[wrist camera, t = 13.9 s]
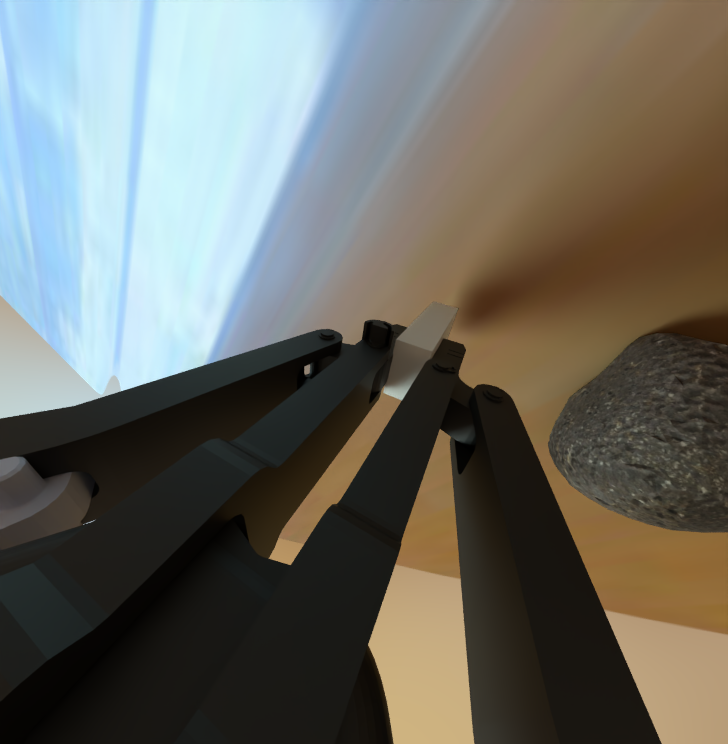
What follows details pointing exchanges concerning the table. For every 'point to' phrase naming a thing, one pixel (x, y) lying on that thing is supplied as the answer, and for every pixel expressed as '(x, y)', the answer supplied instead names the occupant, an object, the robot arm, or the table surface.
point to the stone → (652, 434)
